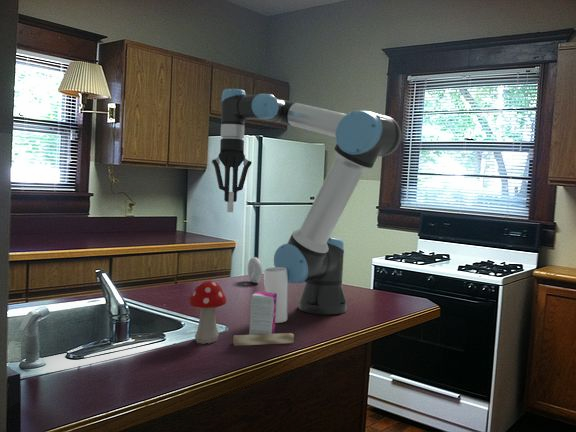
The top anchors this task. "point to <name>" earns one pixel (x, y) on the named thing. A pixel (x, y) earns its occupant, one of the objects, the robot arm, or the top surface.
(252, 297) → the supplement box
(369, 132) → the robot arm
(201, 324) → the decorative mushroom
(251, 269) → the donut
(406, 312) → the top surface
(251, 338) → the bar
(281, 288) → the drinking glass
